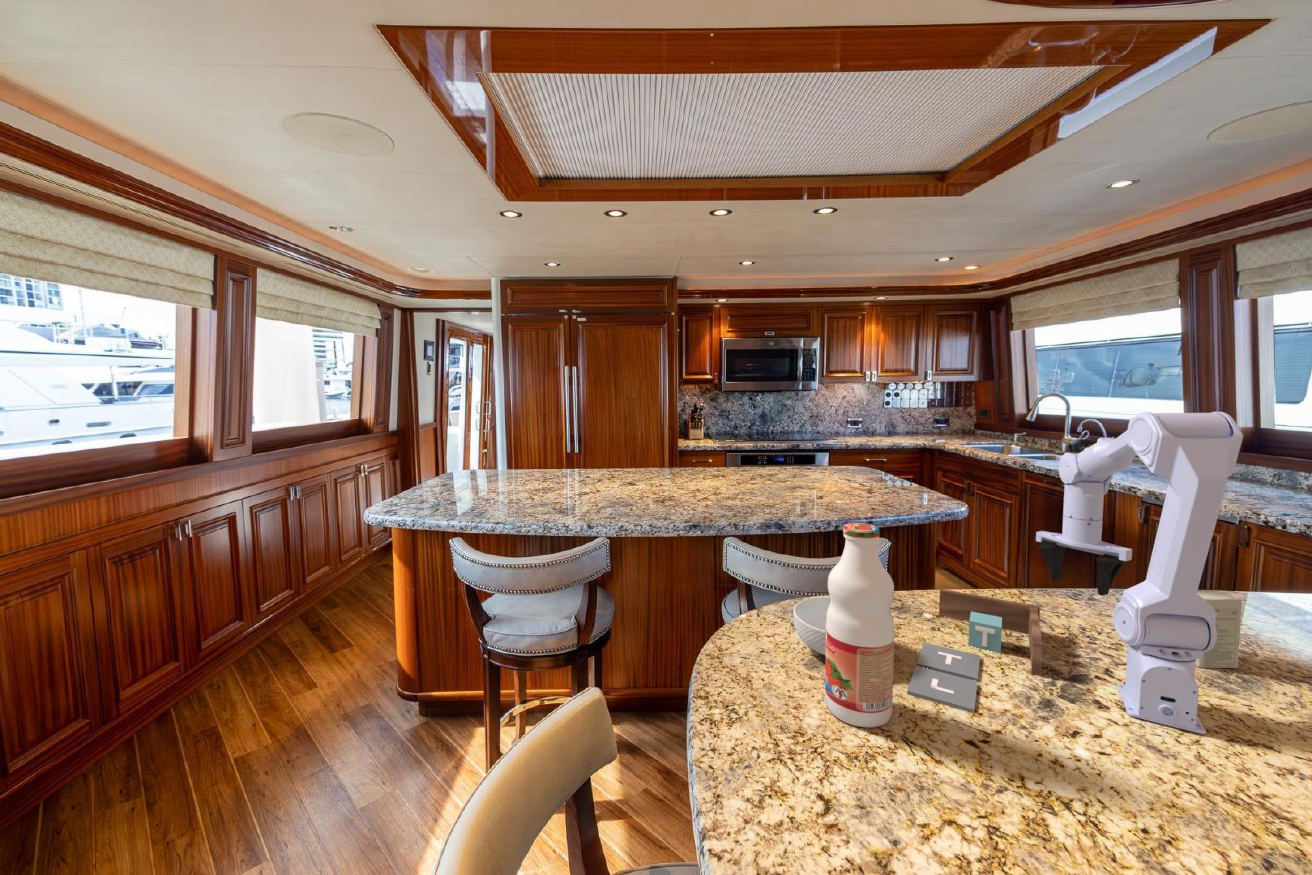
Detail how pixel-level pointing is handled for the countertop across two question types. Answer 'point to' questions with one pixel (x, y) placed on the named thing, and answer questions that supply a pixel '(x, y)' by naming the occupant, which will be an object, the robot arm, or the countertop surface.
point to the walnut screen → (1011, 612)
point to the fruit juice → (860, 632)
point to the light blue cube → (985, 632)
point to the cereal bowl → (812, 622)
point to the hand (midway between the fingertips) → (1078, 587)
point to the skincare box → (1223, 630)
